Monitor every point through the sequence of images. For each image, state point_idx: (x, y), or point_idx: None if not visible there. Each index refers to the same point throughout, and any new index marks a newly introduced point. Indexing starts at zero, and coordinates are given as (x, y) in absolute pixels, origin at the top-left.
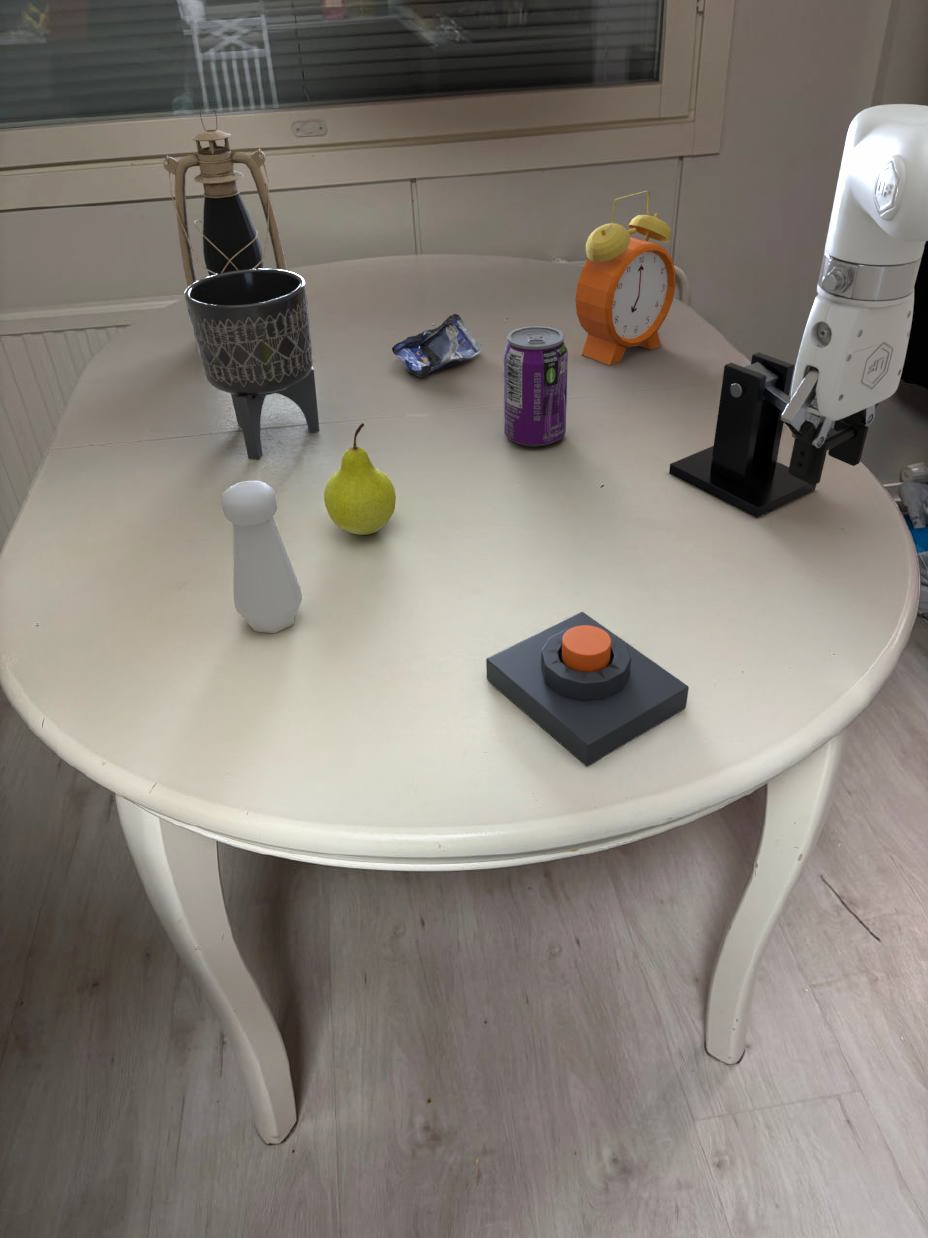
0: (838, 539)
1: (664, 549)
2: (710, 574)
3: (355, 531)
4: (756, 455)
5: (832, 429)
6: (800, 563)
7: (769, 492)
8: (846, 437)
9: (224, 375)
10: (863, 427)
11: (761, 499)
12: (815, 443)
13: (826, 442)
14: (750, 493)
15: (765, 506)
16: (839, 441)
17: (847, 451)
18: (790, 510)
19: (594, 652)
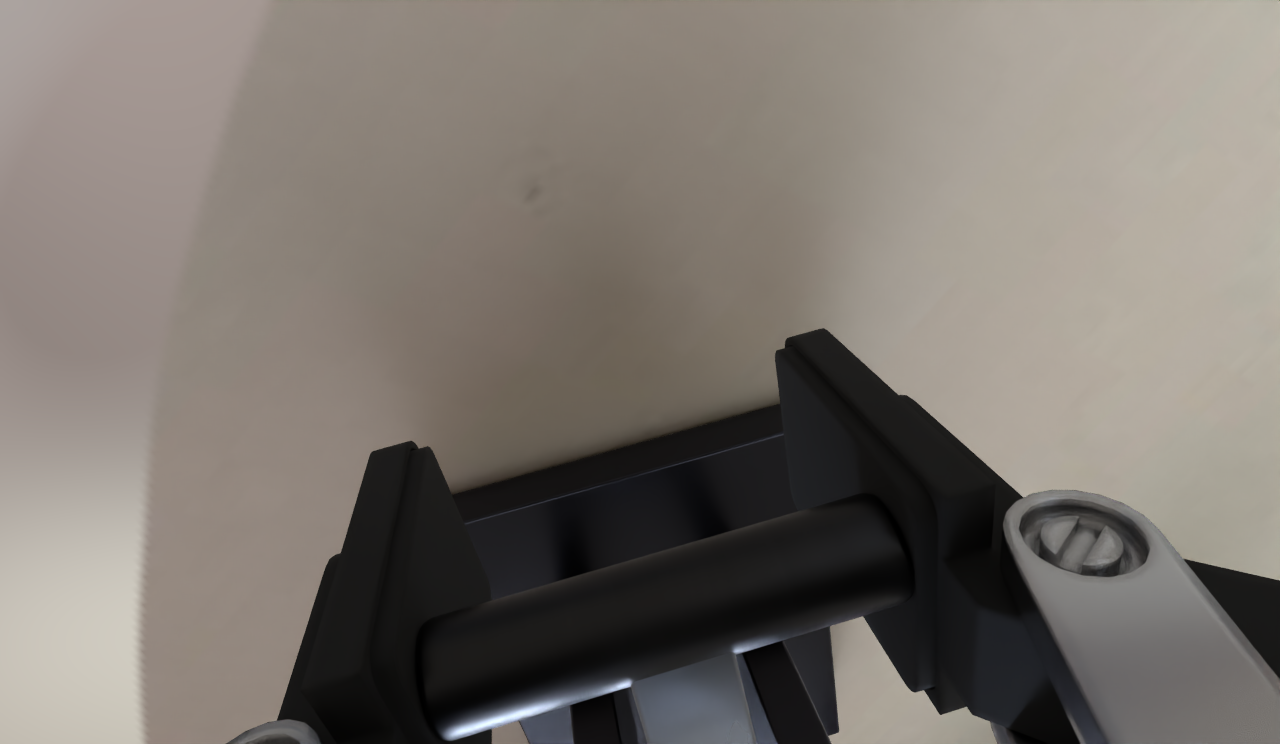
0: (609, 122)
1: (1181, 344)
2: (1217, 137)
3: None
4: (623, 708)
5: (660, 718)
6: (904, 28)
7: (688, 506)
8: (574, 609)
9: None
10: (360, 693)
11: (756, 472)
12: (1147, 520)
13: (845, 568)
14: (756, 521)
15: (768, 430)
16: (670, 574)
17: (445, 546)
18: (634, 405)
19: None
